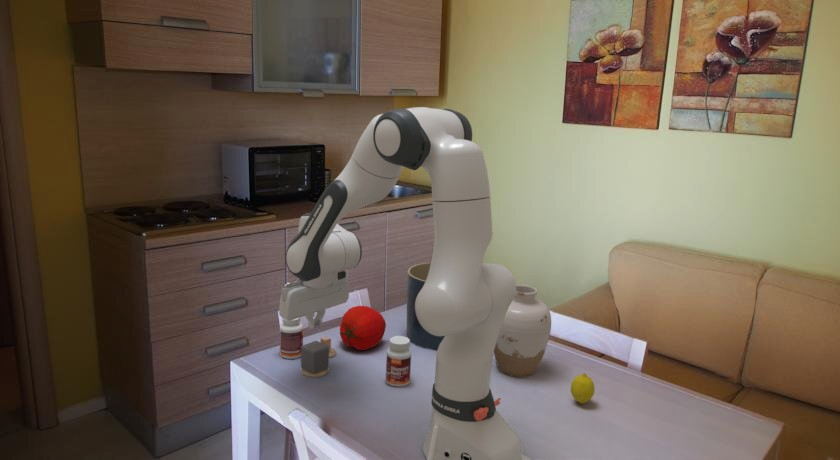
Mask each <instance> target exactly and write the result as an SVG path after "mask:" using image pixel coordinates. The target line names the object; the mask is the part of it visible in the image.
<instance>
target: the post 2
mask: <svg viewBox="0 0 840 460" xmlns="http://www.w3.org/2000/svg"><path fill="white" fill-rule="evenodd" d="M319 342H321V343H323V344H325V345H327V346H329V359H332V358H334V357H336V355H337V350H336V349H335V348H333V347H332V337H328V336H324V337H322V338H321V337H320V341H319Z"/></svg>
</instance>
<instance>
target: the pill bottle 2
mask: <svg viewBox="0 0 840 460" xmlns="http://www.w3.org/2000/svg"><path fill="white" fill-rule="evenodd" d="M388 347H389V348H388V349H387V351H386V366H385V381H386V384H388V385H390V386H392V387H405V386H407V385H408V384H409V383H410V381H411V370H412V369H411V368H412V367H411V366H412V350H411V349H410V347H411V341H410V340H409V338H408V337H407V336H401V335H395V336H392V337H390V339H389V344H388Z"/></svg>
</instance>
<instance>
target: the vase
mask: <svg viewBox="0 0 840 460" xmlns="http://www.w3.org/2000/svg"><path fill="white" fill-rule="evenodd" d="M537 294H538V289H537V288H536V287H534V286H531V285H527V284H516V295H515V297H514V299H513V301H512V302H511V304H510V306H509V308H508V310H507V312H506V314H505V317H504V320H503V323H502V326H501V329H500V332H499V335H498V339H497V342H496V345H495V349H494V353H493V356H494V358H495V361H496V364H497V367H498V369H499V370H500V372H502V373H503V374H505V375H507V376H509V377H514V378H515V377H516V378H517V377H518V378H526V377H531V376H532V375H533V374H534V373H535V372H536V371H537V369H538V368H539V365H540V364H541V362H542V360H543V358H544V356H545V352H546V350H547V346H548V342H549V339H550V337H551V336H550V335H551V329H552V315H551V311H550V308H549V307H548V306H547V304H546V303H544V302H543V301H542V300H539V299H537V298H536V295H537Z"/></svg>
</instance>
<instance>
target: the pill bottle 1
mask: <svg viewBox="0 0 840 460" xmlns="http://www.w3.org/2000/svg"><path fill="white" fill-rule="evenodd" d="M281 318H282V317H281ZM281 322H282V323H281V324H280V326H279V356H281V357H282V358H283V359H285V360H286V359H288V360H294V359H298V358H301V346H303V345H304V327H303V326H304V325H303V324H302V323H301V317H300V318H297V319H294V320H290V321H289V320H286V319H284V318H282V320H281Z"/></svg>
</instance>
